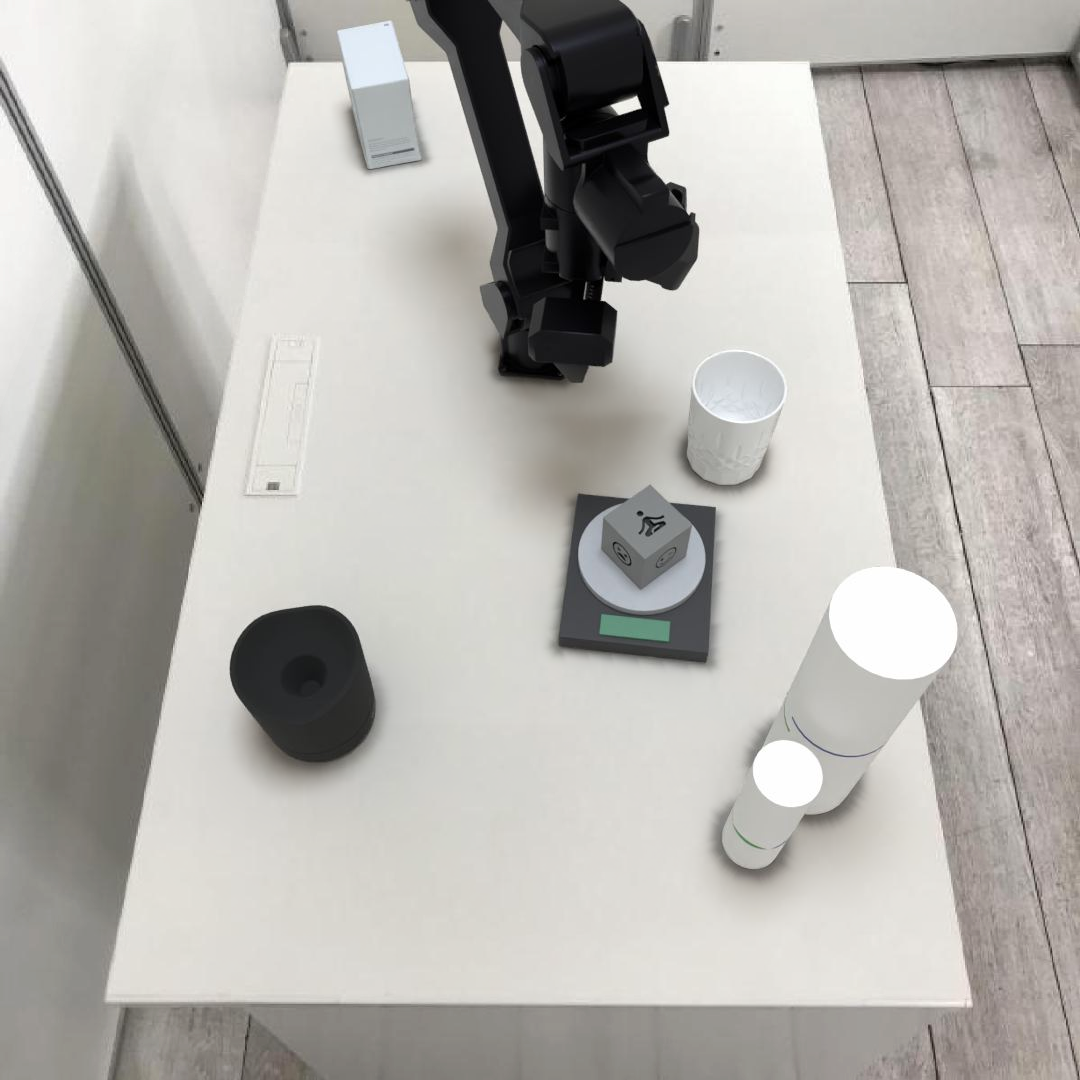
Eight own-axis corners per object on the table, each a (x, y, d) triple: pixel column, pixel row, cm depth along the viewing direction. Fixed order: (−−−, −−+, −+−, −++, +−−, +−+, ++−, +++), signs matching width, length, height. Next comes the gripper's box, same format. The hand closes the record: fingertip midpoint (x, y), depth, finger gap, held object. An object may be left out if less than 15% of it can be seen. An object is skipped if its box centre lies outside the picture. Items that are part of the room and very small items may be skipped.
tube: (717, 813, 80) (747, 743, 67) (773, 808, 80) (814, 737, 67) (727, 871, 78) (760, 810, 65) (785, 866, 78) (829, 803, 65)
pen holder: (332, 791, 81) (306, 745, 73) (238, 730, 84) (202, 679, 76) (404, 694, 85) (387, 639, 77) (312, 638, 88) (286, 580, 80)
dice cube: (640, 590, 87) (644, 559, 83) (601, 549, 89) (603, 517, 85) (685, 556, 89) (692, 524, 84) (645, 517, 91) (650, 484, 86)
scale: (558, 646, 87) (558, 632, 85) (577, 504, 95) (578, 487, 92) (705, 662, 86) (709, 648, 84) (713, 517, 94) (717, 501, 91)
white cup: (762, 498, 95) (783, 429, 86) (674, 484, 96) (686, 414, 87) (771, 428, 99) (791, 356, 90) (686, 415, 100) (698, 343, 91)
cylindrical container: (793, 831, 79) (880, 700, 58) (740, 749, 83) (804, 598, 61) (871, 787, 81) (984, 645, 59) (816, 709, 84) (904, 548, 63)
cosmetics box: (351, 112, 123) (334, 27, 114) (406, 102, 124) (394, 18, 115) (365, 171, 118) (349, 87, 109) (422, 161, 119) (411, 77, 110)
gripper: (691, 289, 70) (672, 436, 83) (704, 111, 80) (685, 267, 93) (523, 277, 71) (530, 423, 84) (556, 102, 81) (558, 258, 94)
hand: (582, 339), depth 89 cm, fingers open, 9 cm apart
